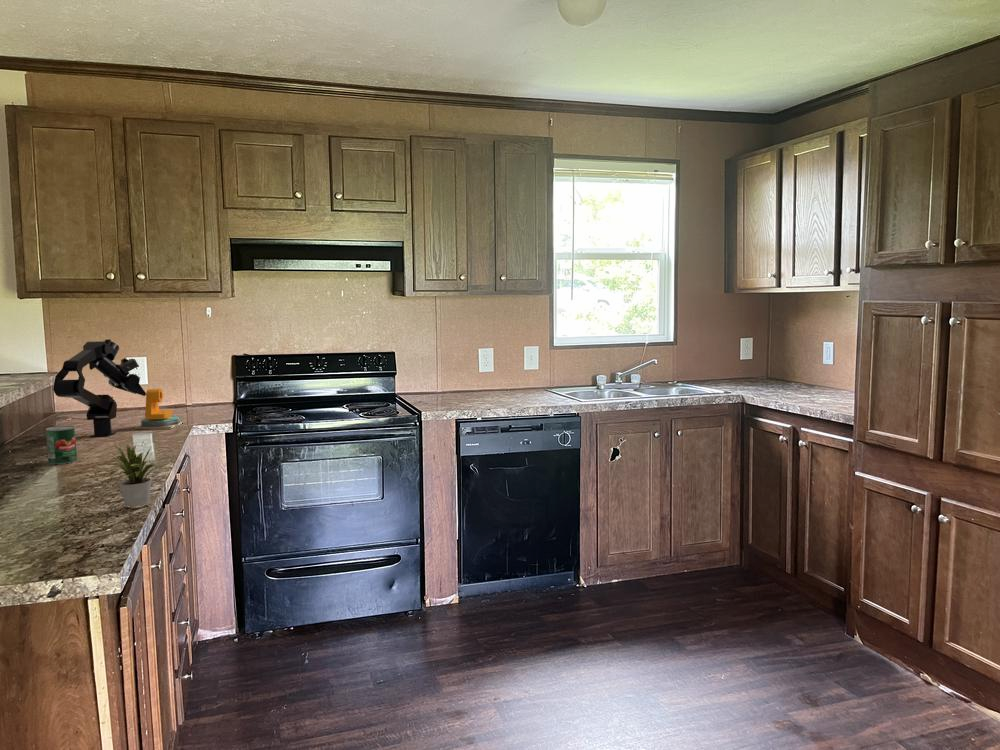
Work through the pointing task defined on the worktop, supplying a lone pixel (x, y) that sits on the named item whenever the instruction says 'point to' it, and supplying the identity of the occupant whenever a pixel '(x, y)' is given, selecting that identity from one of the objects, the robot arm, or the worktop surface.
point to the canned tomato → (61, 444)
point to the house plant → (134, 477)
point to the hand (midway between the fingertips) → (141, 394)
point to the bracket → (155, 406)
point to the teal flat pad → (160, 423)
